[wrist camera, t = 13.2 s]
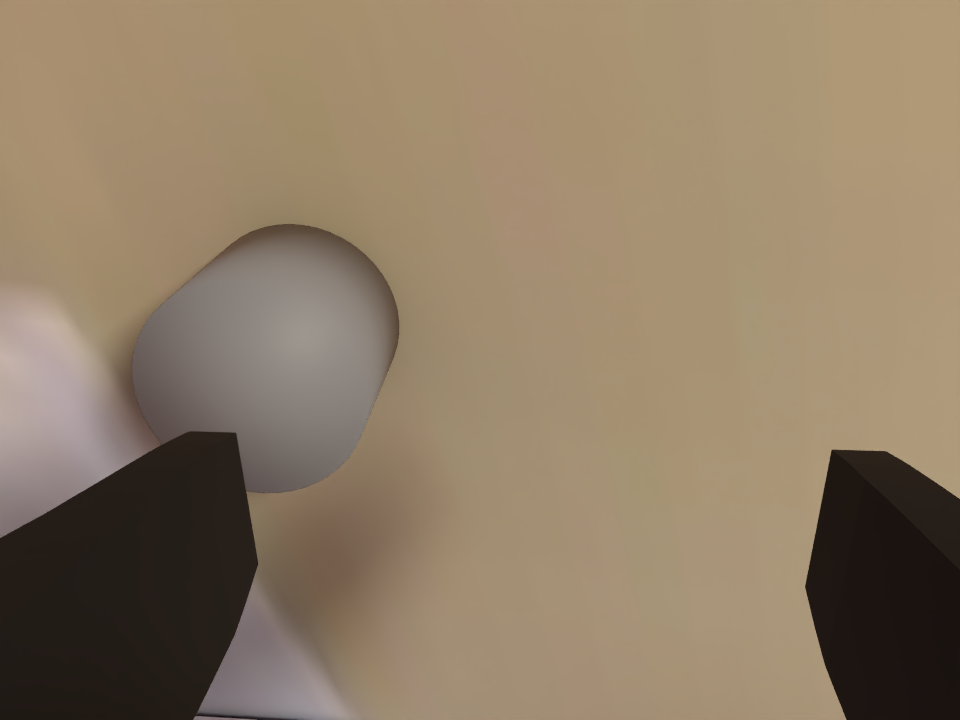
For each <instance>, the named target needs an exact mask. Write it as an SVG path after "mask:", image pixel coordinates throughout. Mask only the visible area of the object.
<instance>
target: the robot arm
mask: <svg viewBox="0 0 960 720" xmlns="http://www.w3.org/2000/svg"><path fill="white" fill-rule="evenodd" d="M257 566H258V560H257V554H256V548H255V542H254V536H253V530H252V524H251V518H250V512H249V506H248V500H247V494H246V488H245V482H244V476H243V470H242V464H241V458H240V452H239V446H238V440H237V434H236V433H235V432H201V431H189V432H186V433H184V434H182V435H180V436H178V437H176V438H174V439H172V440H170V441H168V442H166V443H164V444H163V445H161V446H159V447H157V448H155V449H154V450H152V451H150V452H148V453H147V454H145V455H143V456H142V457H140V458H138V459H136V460H135V461H133V462H131V463H130V464H128V465H126V466H125V467H123V468H121V469H120V470H118V471H116V472H115V473H113V474H111V475H110V476H108V477H106V478H105V479H103V480H101V481H99V482H98V483H96V484H94V485H93V486H91V487H89V488H88V489H86V490H84V491H83V492H81V493H79V494H78V495H76V496H74V497H72V498H71V499H69V500H67V501H66V502H64V503H62V504H61V505H59V506H57V507H56V508H54V509H52V510H50V511H49V512H47V513H45V514H44V515H42V516H40V517H38V518H36V519H34V520H33V521H31V522H29V523H27V524H25V525H23V526H22V527H20V528H18V529H16V530H14V531H13V532H11V533H9V534H7V535H5V536H3V537H2V538H0V720H255V719H238V718H221V717H204V716H195V715H196V713H197V711H198V709H199V707H200V705H201V703H202V701H203V699H204V697H205V695H206V693H207V691H208V689H209V687H210V685H211V683H212V681H213V679H214V677H215V675H216V673H217V671H218V669H219V667H220V664H221V662H222V660H223V658H224V656H225V654H226V652H227V650H228V648H229V646H230V644H231V641H232V639H233V637H234V635H235V632H236V629H237V627H238V624H239V621H240V618H241V615H242V612H243V609H244V607H245V604H246V601H247V598H248V594H249V591H250V588H251V585H252V582H253V579H254V575H255V572H256V569H257ZM805 588H806V592H807V596H808V601H809V605H810V609H811V613H812V617H813V621H814V626H815V630H816V633H817V637H818V641H819V645H820V648H821V652H822V656H823V659H824V663H825V666H826V669H827V671H828V674H829V676H830V679H831V682H832V684H833V687H834V689H835V692H836V694H837V697H838V699H839V702H840V704H841V707H842V709H843V712H844V714H845V717H846V719H847V720H960V499H959V498H957V497H956V496H954V495H953V494H952V493H950V492H949V491H947V490H946V489H944V488H943V487H941V486H940V485H938V484H937V483H935V482H934V481H932V480H931V479H930V478H928V477H927V476H925V475H924V474H922V473H921V472H919V471H918V470H916V469H914V468H913V467H911V466H910V465H908V464H907V463H905V462H903V461H902V460H900V459H898V458H897V457H895V456H893V455H891V454H890V453H888V452H886V451H857V450H832V451H831V456H830V462H829V467H828V472H827V477H826V482H825V487H824V493H823V498H822V503H821V508H820V513H819V518H818V524H817V529H816V534H815V539H814V544H813V549H812V555H811V560H810V565H809V570H808V575H807V580H806V585H805Z"/></svg>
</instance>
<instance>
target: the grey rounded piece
mask: <svg viewBox="0 0 960 720" xmlns="http://www.w3.org/2000/svg"><path fill="white" fill-rule="evenodd" d="M398 338H399V318H398V310H397V306H396V303H395V299H394V296H393V294H392V292H391V289H390V287H389V285H388V283H387V281H386V280H385V278H384V276H383V275H382V273H381V272H380V271H379V269H378V268H377V267H376V265H375V264H374V263H373V262H372V261H371V260H370V259H369V258H368V257H367V256H366V255H365V254H364V253H363V252H362V251H360V250H359V249H358V248H357V247H355V246H354V245H353V244H351V243H349V242H348V241H346V240H345V239H343V238H341V237H339V236H337V235H335V234H333V233H331V232H328V231H325V230H322V229H319V228H315V227H310V226H305V225H296V224H282V225H273V226H268V227H263V228H260V229H257V230H255V231H252V232H250V233H248V234H246V235H244V236H242V237H240V238H239V239H238V240H236V241H235V242H233V243H232V244H231V245H230V246H228V247H227V248H226V249H225V250H224V251H223V252H222V253H220V254H219V255H218V256H217V257H216V258H215V259H213V260H212V261H211V262H210V263H209V264H208V265H207V266H205V267H204V268H203V269H202V270H201V271H200V272H198V273H197V274H196V275H195V276H194V277H193V278H192V279H190V280H189V281H188V282H187V283H186V284H185V285H184V286H182V287H181V288H180V289H179V290H178V291H177V292H175V293H174V294H173V295H172V296H171V297H170V298H169V299H167V300H166V301H165V302H164V303H163V304H162V305H161V306H160V307H159V308H158V309H157V310H156V311H155V312H153V313H152V315H151V316H150V317H149V319H148V320H147V321H146V323H145V324H144V326H143V328H142V330H141V332H140V334H139V336H138V338H137V341H136V345H135V348H134V352H133V359H132V380H133V387H134V392H135V396H136V399H137V403H138V405H139V408H140V410H141V412H142V415H143V417H144V419H145V420H146V422H147V424H148V426H149V427H150V429H151V431H152V432H153V433H154V435H155V436H156V437H157V439H158V440H159V441H160V442H161V443H162V445H163V444H164V443H166V442H168V441H170V440H172V439H174V438H176V437H178V436H180V435H182V434H184V433H186V432H189V431H201V432H235V433H236V434H237V440H238V446H239V452H240V458H241V464H242V470H243V476H244V482H245V488H246V491H248V492H257V493H280V492H288V491H294V490H297V489H301V488H305V487H307V486H310V485H312V484H315V483H317V482H319V481H321V480H323V479H324V478H326V477H328V476H329V475H331V474H332V473H333V472H334V471H336V470H337V469H338V468H339V467H340V466H341V465H342V464H343V463H344V462H345V461H346V460H347V459H348V458H349V456H350V455H351V453H352V452H353V450H354V449H355V447H356V445H357V443H358V441H359V439H360V437H361V435H362V432H363V430H364V427H365V425H366V423H367V420H368V418H369V415H370V413H371V411H372V408H373V406H374V403H375V401H376V399H377V396H378V394H379V391H380V389H381V387H382V384H383V382H384V379H385V377H386V374H387V372H388V370H389V367H390V365H391V362H392V360H393V358H394V355H395V352H396V348H397V344H398Z"/></svg>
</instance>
